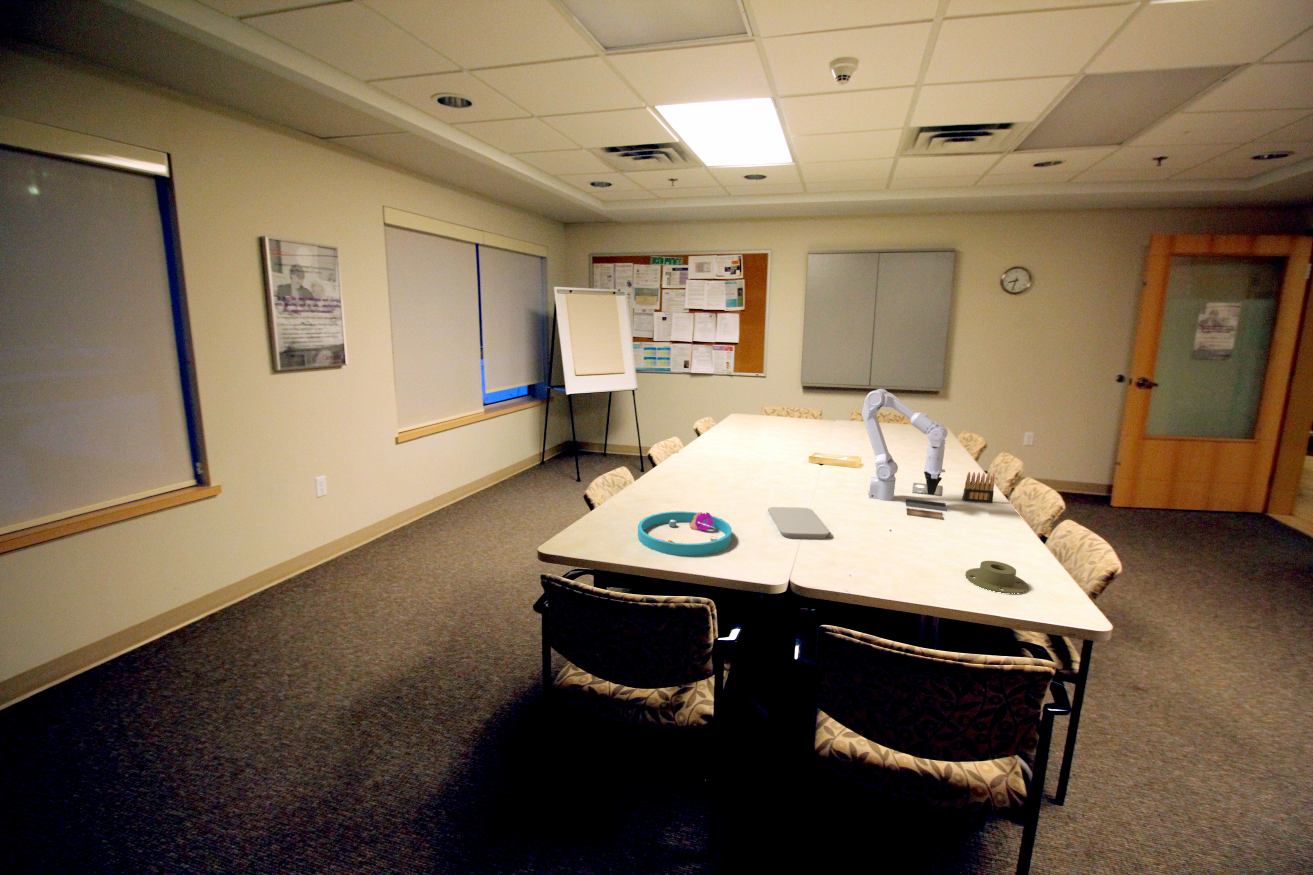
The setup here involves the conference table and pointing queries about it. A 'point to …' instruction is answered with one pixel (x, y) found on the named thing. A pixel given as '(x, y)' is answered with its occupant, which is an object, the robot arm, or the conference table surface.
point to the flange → (996, 577)
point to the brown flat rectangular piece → (925, 514)
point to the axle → (922, 489)
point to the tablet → (798, 522)
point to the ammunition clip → (979, 489)
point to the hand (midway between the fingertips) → (930, 492)
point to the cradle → (926, 504)
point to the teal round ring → (698, 521)
